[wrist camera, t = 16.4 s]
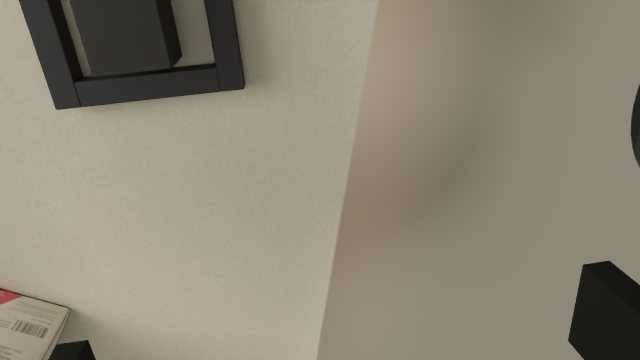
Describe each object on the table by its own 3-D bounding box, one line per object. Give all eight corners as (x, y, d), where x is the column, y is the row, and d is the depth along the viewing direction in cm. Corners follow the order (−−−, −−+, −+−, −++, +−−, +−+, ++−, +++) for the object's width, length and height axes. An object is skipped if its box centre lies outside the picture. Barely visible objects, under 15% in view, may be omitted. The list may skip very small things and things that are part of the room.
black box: (157, -64, 31) (140, -71, 26) (182, 56, 34) (171, 68, 29) (81, -58, 30) (50, -64, 26) (114, 63, 34) (92, 77, 29)
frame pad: (215, -112, 30) (212, -117, 28) (245, 83, 35) (244, 89, 34) (1, -95, 29) (-16, -100, 27) (66, 103, 34) (55, 110, 32)
